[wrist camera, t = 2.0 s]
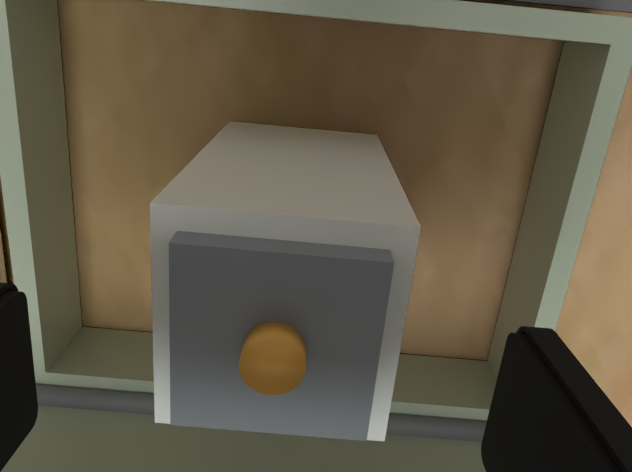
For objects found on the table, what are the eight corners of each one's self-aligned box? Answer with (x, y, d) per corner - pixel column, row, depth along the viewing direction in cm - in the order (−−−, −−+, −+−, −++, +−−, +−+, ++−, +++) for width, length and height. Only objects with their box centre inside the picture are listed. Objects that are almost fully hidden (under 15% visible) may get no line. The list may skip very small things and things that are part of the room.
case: (31, -36, 17) (-1232, -292, 3) (592, 19, 17) (1637, 1, 3) (68, 371, 22) (-338, 921, 9) (493, 406, 22) (751, 991, 9)
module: (229, 121, 18) (127, 225, 9) (377, 135, 18) (433, 252, 9) (225, 256, 20) (137, 464, 11) (359, 268, 20) (390, 485, 11)
